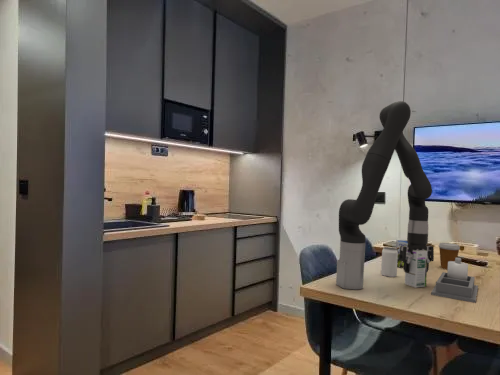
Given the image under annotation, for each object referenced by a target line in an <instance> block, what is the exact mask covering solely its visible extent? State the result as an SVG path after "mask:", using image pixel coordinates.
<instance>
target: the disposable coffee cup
mask: <svg viewBox="0 0 500 375" xmlns="http://www.w3.org/2000/svg"><path fill="white" fill-rule="evenodd" d="M438 248H439V249H438V250H439V259H440V268H441V269H443V270H448V262H449V261H455V258H459V257H458V256H459V251H460V249H461V247H460V244H457V243H456V244H455V243H451V242H450V243H449V242H440V243H439V244H438Z"/></svg>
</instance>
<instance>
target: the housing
mask: <svg viewBox="0 0 500 375" xmlns="http://www.w3.org/2000/svg"><path fill="white" fill-rule="evenodd" d="M468 273H469V264H468V263H467V262H466V263H465V262H462V258H461V257H457V258H455V261H449V262H448V269H447V271H446V272H444V271H442V273H441V274H440V276H439V277H438V279H437V281H436V282H435V285H434V287H433V288H432V290H431V292H430V296H436V297H440V298H448V299H453V300H458V301H464V302H470V303H475V304H476V303H477V302H476V301H477V297H476V296H478V289H479V285H477V284H476V285H475V278H476V277H475V276H471V275H469V274H468Z"/></svg>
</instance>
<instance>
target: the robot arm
mask: <svg viewBox="0 0 500 375" xmlns="http://www.w3.org/2000/svg"><path fill="white" fill-rule="evenodd" d="M411 112H412V111H411V107H410V105H409V104H408V103H407V102H406V101H401V100H400V101H395V102H393V103H391V104H389V105H387V106H385V107H383V108H382V109H381V110H380V112H379V121H380V124H381V125H382V127H383V129H382V130H381V132H380V134H379V136H378V137H377V138H376V139H375V140H374V141H373V143H372V144H371V146H370V147H369V149H367V153H366V154H365V157H364V159H363V162H362V165H361V179H362V180H361V181H362V184H361V189H360V190H359V191H360V192H359V193H358V195H357V197H356V199H351V198H350V199H345V200H344V201H342V203H341V204H340V207H339V209H338V210H339V211H338V233H339V236H340V243H339V259H337V260H336V277H335V278H336V279H335V285H337V286H338V287H340V288H342V289H346V290H361V289H363V288H364V273H365V258H366V255H365V253H366V239H367V238H366V235H365V234H364V233H363V232H362V231H361V229H360V226H362V225H365V224H367V223H368V222H369V220H370V218H371V217H372V213H373V211H374V207H375V204H376V200H377V196H378V194H379V192H380V188H381V185H382V182H383V180H384V177H385V176H386V173H387V171H388V167H389V165H390V164H391V160H392V158H393V155H394V152H395V153H396V155H397V157H398V159H399V163H400V165H401V168H402V172H403V175H404V177H406V178H407V179H408V180H409V182H410V184H409V186H408V188H407V200H408V207H409V208H408V209H409V210H408V211H409V212H408V223H407V236H406V237H407V242H408V246H407V247H405V246H400V255H399V260H400V261H402V262H404V266H403V267H402V269H403V271H404V273H405V272H406V273H409V268H410V264H409V262H410V261H411V260H412V259H413V258H414V253H413V250H427V273H428V271H429V270H430V269H429V267H430V263H431V262H434V259H435V257H434V255H435V252H434V251H435V248H434V246H432V245H428V243H429V242H428V240H429V208H428V207H427V205H426V200H427V199H429V198H430V197H431V196H432V193H433V188H432V184H431V181H430V180H429V178H428V176H427V174H426V173H425V171H424V169H423V167H422V163H421V161H420V158H419V155H418V153H417V151H416V149H415V148H414V147H413V145H411V143H410V142H409V140H408V139H407V138H406V137H405V135H404V133H403V132H404V130H405V128H406V127H407V124H408V122H409V121H410V118H411V114H412V113H411ZM407 250H408V252H409V251H410V253H411V254H412V255H411V256H409V255H408V253H407V254H406V252H407Z"/></svg>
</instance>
